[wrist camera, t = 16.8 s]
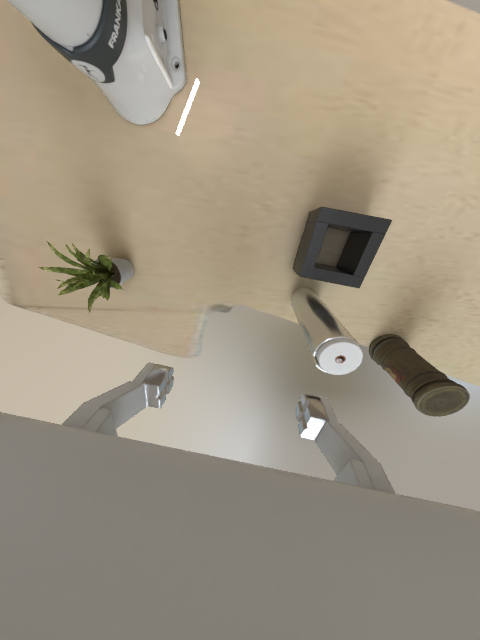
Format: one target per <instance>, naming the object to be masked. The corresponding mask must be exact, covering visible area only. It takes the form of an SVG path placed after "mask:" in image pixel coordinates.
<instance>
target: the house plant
mask: <svg viewBox="0 0 480 640" xmlns="http://www.w3.org/2000/svg"><path fill="white" fill-rule="evenodd" d="M48 244H49V246H50V247H51V249H52V250H53V251H54V252H55V254H56V255H57V256H59V257H60V258H61V259H63V260H64V261H66V262H67V263H69V264H71V265H74V266H77V267H81V268H84V269H87V270H81V269H71V268H61V267H50V268H47V267H40V268H41V269H44V270H47V271H52V272H58V273H67V274H69V275H73V276H76V277H73V278H70V279H68V280H67V281H65V282H64V281H61V282H64V283H62V284H61V285H60V286H59V287H58V288H60V287H63V286H65V285H67V284H69V285H68V286H67V287H66V288H65V289H64V290H62V291H61V292H60V293H59V295H62V294H67V293H70V292H73V291H75V290H78V289H82V288H85V287H88V286H90V285H93V284H95V283H97V282H99V283H98V284H97V286H96V288H95V289H94V290H93V291H92V293H91V295H90V297H89V299H88V310H89V312H90V310H91V307H92V304H93V302H94V299H97V298H98V297H99V296H100V295H101V296H102V297H103V298H104V297H105V298H106V299H107V300H108V299H109V297H110V287H114V288H116V289H122V288H121V286H120V284H122V283H123V282H125V281H126V280H128V279H129V278H131V277H132V276H133V275H134V267H133V265H132V263H131V262H130V261H129V260H127V259H124V258H108V257H109V256H106V255H99V256H98V259H97V260H96V261H94V260H92V259H90V258H89V255H90V249H89V250H88V252H87V253H86V256H85V255H84V254H83V253H82V252H80V251H79V250H78V249H77V248H76V247H75V246H74V245H73V244H72V245H73V247H74V249H75V250H76V254H75V253H74V252H72V251H71V250H70V249H69V247H68V246H67V245H66V247H67V249H68V250H69V252H70V253H71V254H72V255H73V256H74V257H76V258H77V260H78V261H79V262H81V263H82V264H84V265H85V266H84V265H81V264H78V263H76V262H74V261H72V260H70V259H69V258H67V257H66V256H64V255H63V254H61V253H60V252H58V251H57V250H56V249H55V248H54V247H53V246H52V245H51V244H50V243H49V242H48ZM81 256H82V257H83V258H85V260H84V259H83V258H82V257H81ZM90 261H91V262H93V263H94V264H93V263H91V262H90ZM57 281H60V280H57ZM72 282H74V283H72ZM58 288H57V289H58ZM123 290H124V289H123ZM99 291H100V292H99ZM97 294H98V295H97ZM95 297H96V298H95ZM89 314H90V313H89Z"/></svg>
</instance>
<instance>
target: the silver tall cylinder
mask: <svg viewBox="0 0 480 640" xmlns="http://www.w3.org/2000/svg"><path fill="white" fill-rule="evenodd" d="M291 305H292V307H293V310H294V312H295V315H296V317H297V320H298V323H299V325H300V327H301V330H302V333H303V335H304V338H305V340H306V343H307V346H308V348H309V350H310V353H311V356H312V358H313V361H314V364H315V365H316V366H317V367H318V368H319V369H320V370H322V371H324V372H327V373H330V374H332V375H343V374H347V373H349V372H352V371H354V370H355V369H356V368H357V367H358V366H359V365H360V364H361V361H362V358H363V354H362V351H361V349H360V348H359V346H360V345H359V344H358V342H357V341H356V340H355V339H354V337H353V336H352V335H351V334H350V333H349V332H348V330H347V329H346V328H345V327H344V326H343V325H342V323H341V322H340V321H339V320H338V319H337V318H336V316H335V315H334V314H333V313H332V312H331V311H330V309H329V308H328V307H327V306H326V305H325V303H324V302H323V301H322V300H321V299H320V298H319V296H318V295H317V294H316V293H315V292H314V291H313V290H312V289H310V288H300V289H298V290H296V291H295V292H294V293H293V294H292V297H291Z"/></svg>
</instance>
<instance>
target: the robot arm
mask: <svg viewBox="0 0 480 640" xmlns="http://www.w3.org/2000/svg"><path fill="white" fill-rule="evenodd" d="M6 1H8V2H9V3H10V4H11V5H12V6H13V7H15V8H16V9H17V10H18V11H19V12H20V13H21V14H23V15H24V16H25V17H26V18H27V19H28V20H29V21H30V22H31V23H32V24H33V26H34V27H35V29H36V30H37V31H38V32H39V33H40V35H41V36H42V37H43V38H44V39H45V40H46V41H47V42H48V43H50V44H51V45H52V46H53V47H54V48H55V49H56V50H57V51H58V52H59V53H60V54H62V55H63V56H64V57H65V58H66V59H67V60H68V61H69V62H71V63H72V64H73V65H74V66H75V67H76V68H77V69H78V70H80V71H81V72H82V73H83V74H85V75H86V76H88V77H89V78H90V79H91V80H92V81H93V82H94V83H95V84H96V85H97V86H98V87H99V89H100V90H101V91H102V92H103V94H104V95H105V97H106V98H107V99H108V101H109V102H110V104H111V105H112V107H113V108H114V109H115V110H116V111H117V113H118V114H119V115H121V116H122V117H123V118H124V119H126V120H128V121H129V122H132V123H134V124H139V125H145V124H150V123H152V122H154V121H156V120H157V119H158V118H160V116H161V115H162V114H163V113H164V112H165V110H166V108H167V107H168V105H169V103H170V101H171V99H172V97H173V96H174V95H175V94H176V93H178V92H179V91H180V90H181V89H182V88H183V87H184V86H185V84H186V68H185V59H184V49H183V39H182V29H181V19H180V9H179V0H6ZM177 65H179V68H178V69H176V66H177ZM199 83H200V82H199V80H198V79H197V78H196V81H195V84H194V86H193V89H192V92H191V94H190V97H189V99H188V102H187V105H186V107H185V110H184V113H183V115H182V118H181V121H180V123H179V126H178V129H177V131H176V134H177V135H178V136H179V135H180V132H181V129H182V127H183V124H184V122H185V119H186V116H187V114H188V111H189V109H190V106H191V103H192V101H193V98H194V96H195V93H196V91H197V88H198V85H199ZM173 372H174V370H173V368H172V367H168V366H163V365H159V364H154V363H148V364H147V365H146V366H145V367H144V368H143V369H142V370H141V372H140V373H139V374H138V375H137V376H136V378H135V379H134V380H133V381H132V382H131V381H129V382H127V383H125V384H123V385H121V386H118V387H116V388H114V389H112V390H110V391H108V392H106V393H104V394H102V395H100V396H97V397H95V398H93V399H91V400H89V401H87V402H85V403H83V404H82V405H81V406H80V407H79V408H78V409H77V410H76V411H75V412H74V413H73V414H72V415H71V416H70V417H69V418H68V419H67V420H66V421H65V422H64V423H63V424H62V425H59V424H55V423H50V422H45V421H40V420H36V419H30V418H25V417H21V416H16V415H11V414H7V413H2V412H0V640H480V512H479V511H475V510H472V509H467V508H462V507H457V506H453V505H448V504H442V503H438V502H433V501H428V500H423V499H418V498H413V497H409V496H404V495H399V494H395V492H394V490H393V488H392V486H391V484H390V482H389V480H388V478H387V476H386V474H385V472H384V470H383V468H382V466H381V464H380V463H379V462H378V461H377V460H376V459H375V458H374V457H373V456H372V455H371V454H370V453H369V452H368V451H367V450H366V449H365V448H364V447H363V446H362V445H361V444H360V443H359V441H358V440H356V439H355V437H354V436H353V435H352V434H351V433H349V431H348V430H347V429H346V428H345V427H344V426H343V425H342V424H339V423H338V420H337V418H336V415H335V413H334V411H333V408H332V406H331V403H330V401H329V399H328V398H324V397H318V396H314V395H308V394H302V395H301V397H300V399H301V401H300V402H298V404H297V406H296V418H297V419H298V421H299V422H300V423H299V425H298V428H299V433H300V437H303V438H307V439H312V440H315V442H316V444H317V446H318V447H319V449H320V450H321V452H322V453H323V454H324V456H325V458H326V459H327V461H328V462H329V464H330V465H331V467H332V468H333V469H334V471H335V473H336V474H337V476H336V477H335V479H334V480H333V481H331V480H326V479H321V478H317V477H312V476H307V475H301V474H297V473H292V472H287V471H282V470H278V469H273V468H268V467H263V466H258V465H253V464H249V463H244V462H239V461H234V460H229V459H224V458H219V457H215V456H210V455H205V454H200V453H195V452H190V451H185V450H181V449H176V448H170V447H166V446H161V445H156V444H152V443H147V442H142V441H137V440H132V439H127V438H122V437H118V435H117V432H116V428H118V427H119V426H120V425H122V424H123V423H125V422H126V421H127V420H129V419H130V418H132V417H133V416H134V415H136V414H137V413H138V412H140V411H141V410H143V409H144V408H145V407H146V406H150V407H155V408H161V407H162V405H163V403H164V401H165V400H166V394H168V393H169V392H170V390H171V388H172V386H173V380H174V377H173V376H172V374H173Z"/></svg>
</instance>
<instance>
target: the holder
mask: <svg viewBox="0 0 480 640" xmlns="http://www.w3.org/2000/svg"><path fill="white" fill-rule="evenodd" d="M391 221H392V220H390V219H384V218H379V217H374V216H368V215H363V214H358V213H352V212H347V211H342V210H336V209H331V208H326V207H320V208H318V209H315V210H313V211H311V212H309V215H308V219H307V222H306V225H305V229H304V232H303V235H302V239H301V242H300V245H299V249H298V252H297V255H296V259H295V262H294V266H293V269H294V270H295V272H296V273H297V274H298V275H299V276H300V277H305V278H310V279H315V280H320V281H325V282H330V283H335V284H340V285H345V286H350V287H355V288H360V286H361V284H362V282H363V280H364V277H365V275H366V273H367V271H368V269H369V267H370V265H371V263H372V261H373V259H374V257H375V255H376V253H377V251H378V248H379V246H380V244H381V242H382V240H383V238H384V236H385V234H386V232H387V230H388V228H389V226H390V224H391ZM328 228H334V229H339V230H344V231H349V232H351V233H350V235H349V238H348V240H347V243H346V245H345V247H344V250H343V252H342V255H341V257H340V260H339V262H338V265H337V267H333V266H328V265H323V264H318V263H316V260H317V257H318V254H319V252H320V249H321V246H322V243H323V240H324V237H325V234H326V231H327V229H328Z"/></svg>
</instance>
